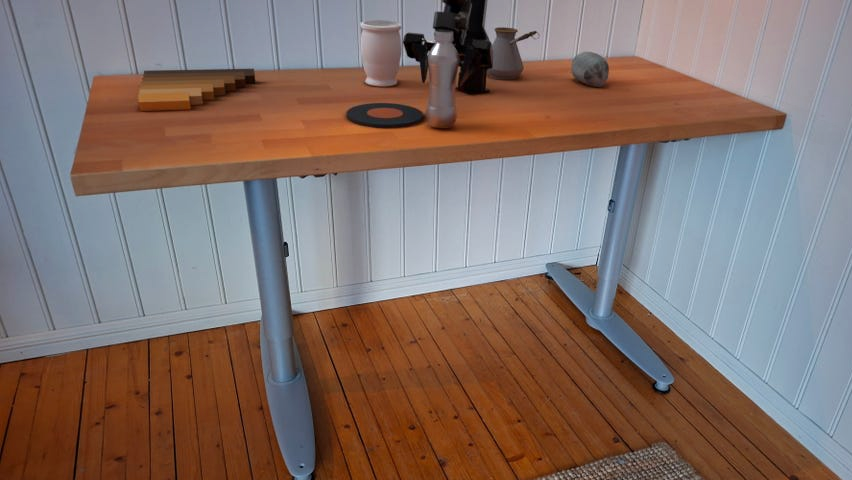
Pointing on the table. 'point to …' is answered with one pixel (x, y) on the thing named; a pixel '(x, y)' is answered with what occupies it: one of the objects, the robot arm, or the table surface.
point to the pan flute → (188, 87)
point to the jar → (381, 51)
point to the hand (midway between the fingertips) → (440, 83)
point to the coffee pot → (507, 54)
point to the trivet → (385, 115)
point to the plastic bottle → (442, 81)
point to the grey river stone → (590, 69)
